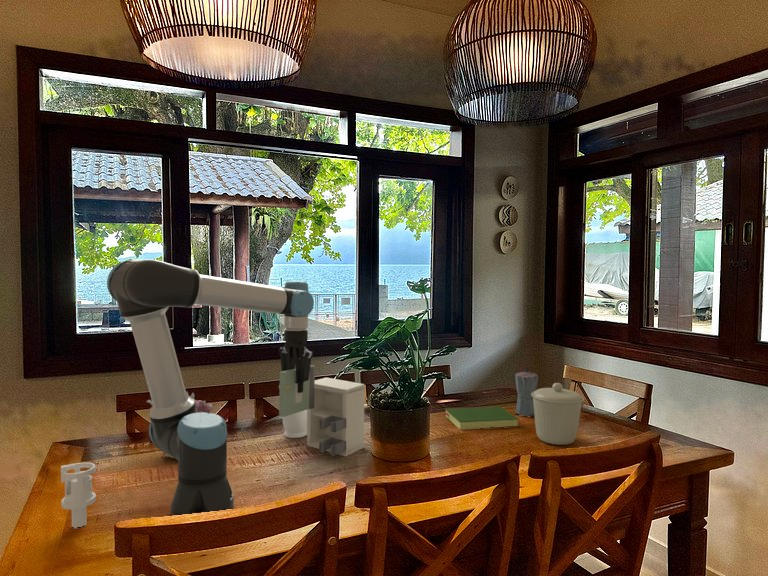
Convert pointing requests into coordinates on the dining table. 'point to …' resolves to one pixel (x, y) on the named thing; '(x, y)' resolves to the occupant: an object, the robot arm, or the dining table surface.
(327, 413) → the cabinet
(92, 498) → the strainer
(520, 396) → the moka pot
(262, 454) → the dining table surface
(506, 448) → the dining table surface
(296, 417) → the jar
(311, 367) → the door
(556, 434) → the canister
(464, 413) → the hardcover book
